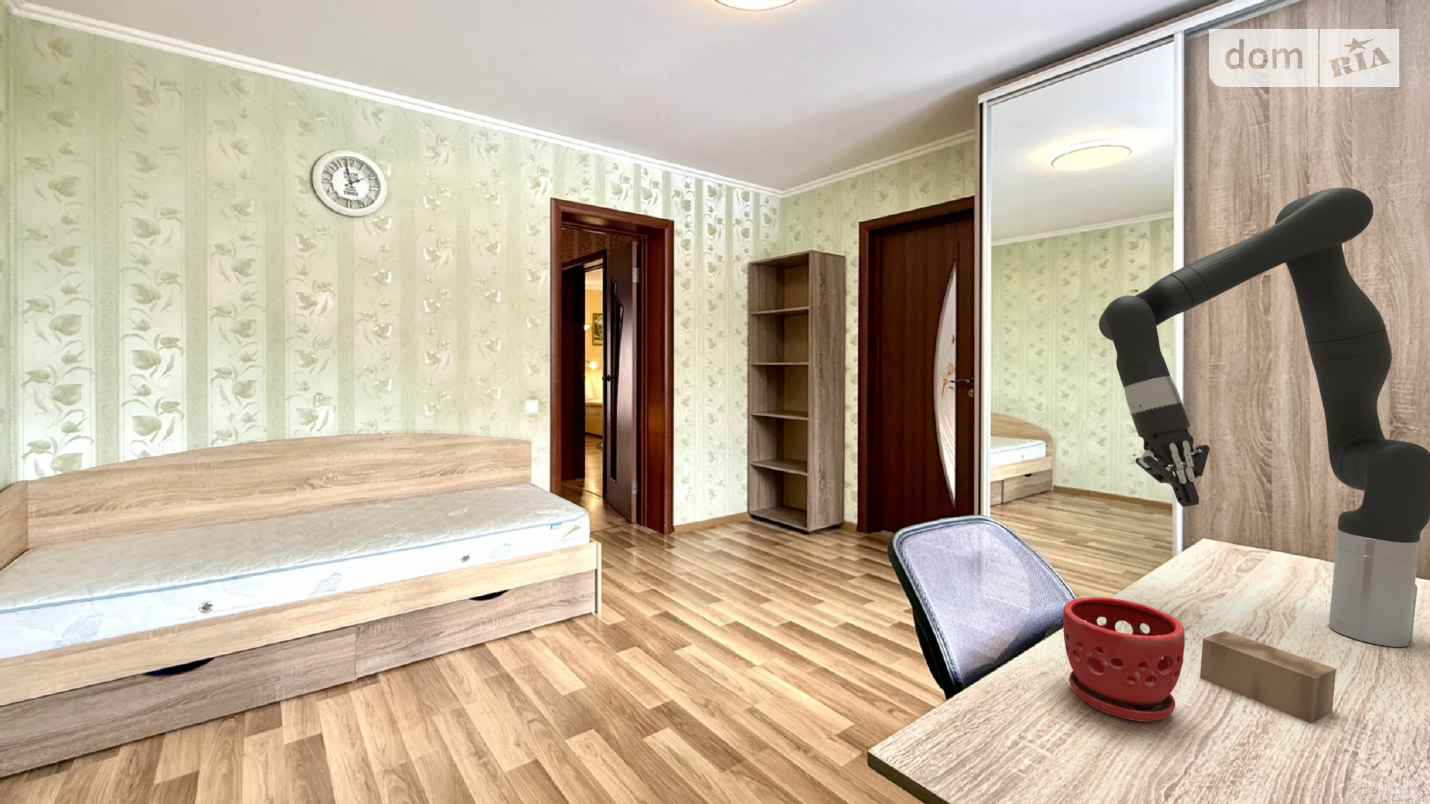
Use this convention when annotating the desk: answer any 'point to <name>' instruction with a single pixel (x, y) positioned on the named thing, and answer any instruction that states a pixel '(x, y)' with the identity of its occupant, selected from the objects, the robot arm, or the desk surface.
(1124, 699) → the plant pot
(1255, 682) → the walnut block
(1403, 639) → the robot arm
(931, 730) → the desk surface
